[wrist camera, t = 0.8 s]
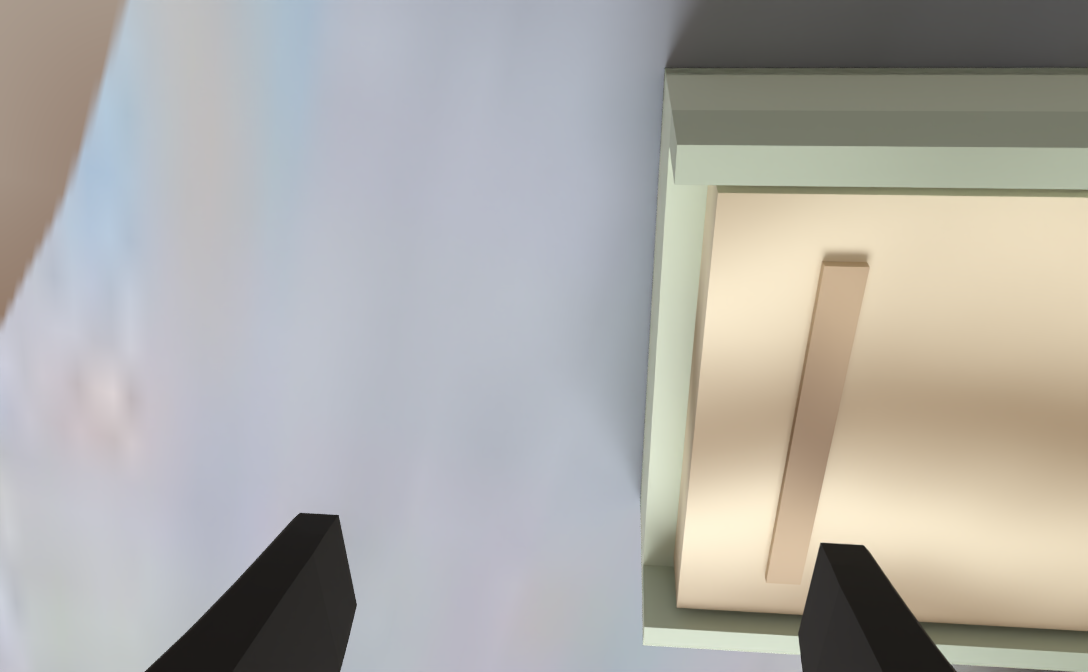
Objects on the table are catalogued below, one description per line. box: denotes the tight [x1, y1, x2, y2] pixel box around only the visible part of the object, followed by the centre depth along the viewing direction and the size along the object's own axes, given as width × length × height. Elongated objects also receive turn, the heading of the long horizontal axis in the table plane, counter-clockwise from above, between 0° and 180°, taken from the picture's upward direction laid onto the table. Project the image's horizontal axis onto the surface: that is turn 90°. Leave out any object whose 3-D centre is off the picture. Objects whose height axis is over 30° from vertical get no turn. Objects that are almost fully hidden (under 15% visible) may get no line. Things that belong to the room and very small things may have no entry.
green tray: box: [640, 68, 1088, 672], centre depth 18 cm, size 13×17×5 cm
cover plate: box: [674, 185, 1088, 631], centre depth 17 cm, size 11×15×2 cm
